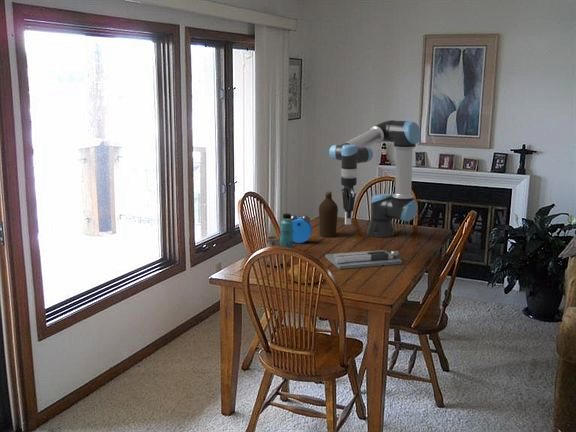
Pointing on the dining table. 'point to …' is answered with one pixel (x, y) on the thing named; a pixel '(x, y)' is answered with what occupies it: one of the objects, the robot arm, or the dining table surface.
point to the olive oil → (328, 217)
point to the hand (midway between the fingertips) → (347, 224)
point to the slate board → (362, 263)
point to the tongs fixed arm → (367, 257)
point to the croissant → (302, 274)
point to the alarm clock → (301, 228)
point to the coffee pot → (273, 242)
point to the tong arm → (358, 254)
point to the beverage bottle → (286, 231)
